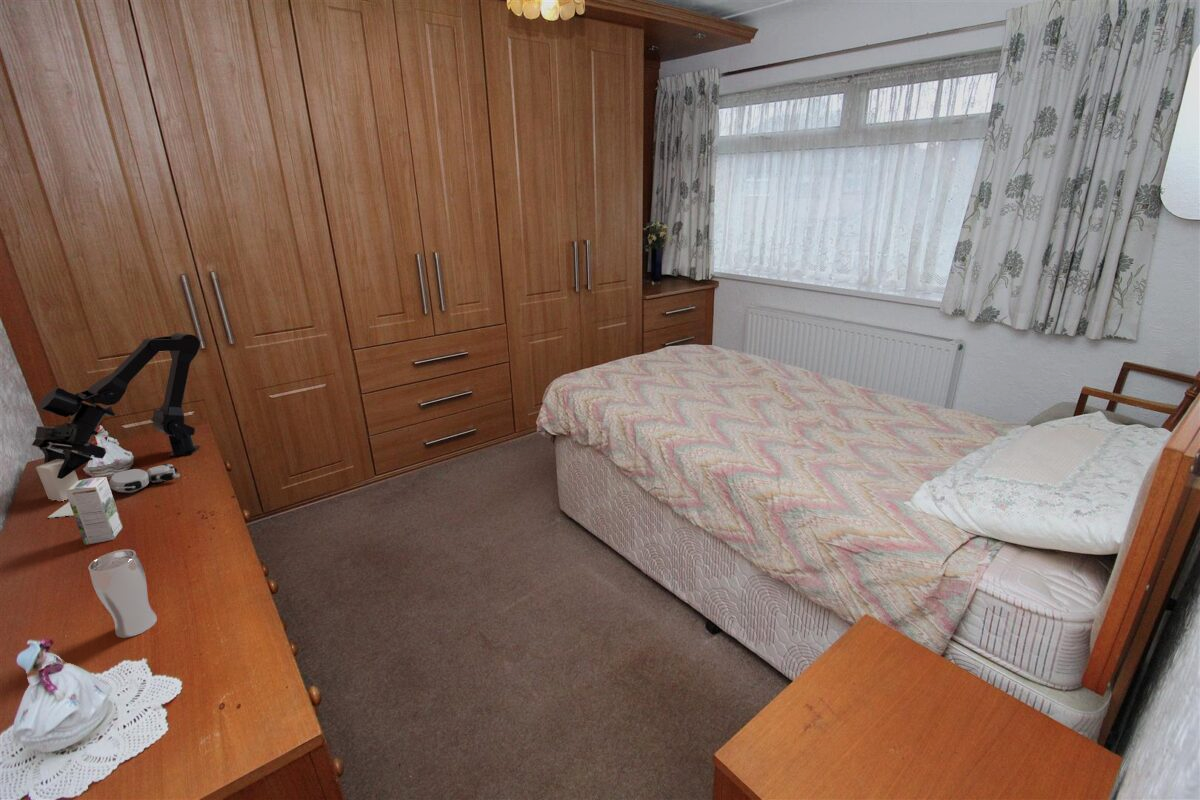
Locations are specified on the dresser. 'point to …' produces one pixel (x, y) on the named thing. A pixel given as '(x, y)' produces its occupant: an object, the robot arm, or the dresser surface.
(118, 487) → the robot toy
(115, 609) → the beer glass
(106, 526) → the syrup box
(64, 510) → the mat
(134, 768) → the dresser surface
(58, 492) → the cream block
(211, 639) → the dresser surface
